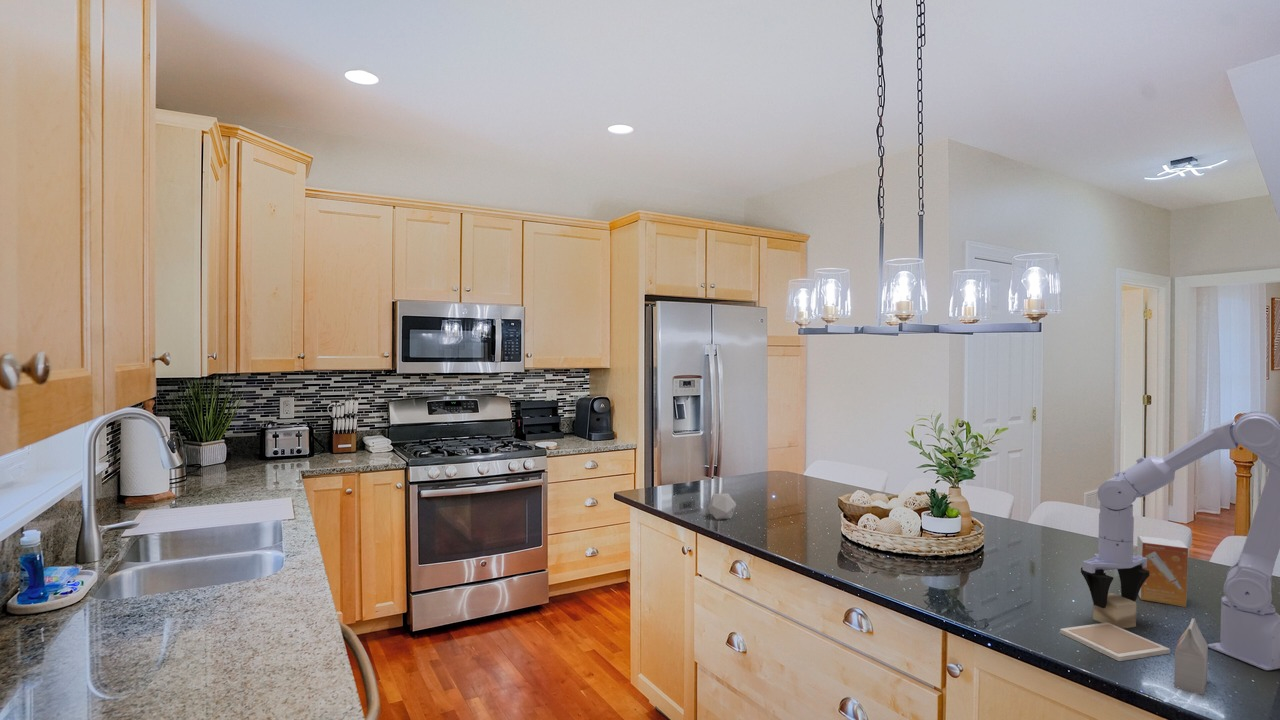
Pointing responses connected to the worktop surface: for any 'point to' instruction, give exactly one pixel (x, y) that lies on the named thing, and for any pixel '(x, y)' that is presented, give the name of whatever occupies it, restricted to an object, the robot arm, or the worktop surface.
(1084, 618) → the worktop surface
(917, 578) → the worktop surface
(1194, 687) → the beige gable-top carton
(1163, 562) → the small box
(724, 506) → the die
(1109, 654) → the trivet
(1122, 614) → the maple cube
